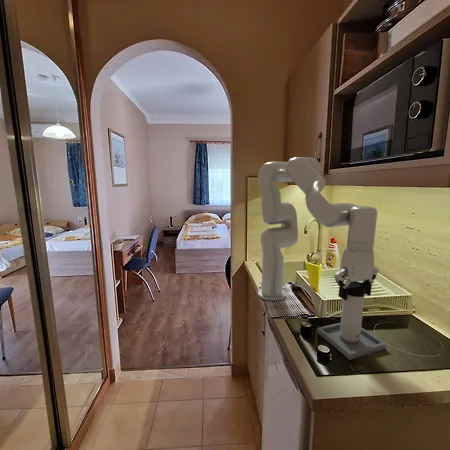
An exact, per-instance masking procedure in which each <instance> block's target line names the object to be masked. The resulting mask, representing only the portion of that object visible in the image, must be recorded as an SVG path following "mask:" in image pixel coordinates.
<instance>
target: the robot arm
mask: <svg viewBox="0 0 450 450" xmlns="http://www.w3.org/2000/svg"><path fill="white" fill-rule="evenodd" d="M321 172H322V165H321V163H320V161H319V160H318V159H317V158H315V157H309V156H307V157H306V156H305V157H302V156H297V157H296V156H295V157H292V158H290V159H289V160H288V161H269V162H265V163H263V164H262V165H261V166H260V168H259V170H258V174H257V183H258V187H259V191H260V201H261V212H262V213H261V214H262V220H263V222H264V224H266V225H270V226H272V225H274V226H275V225H280V226H275V227H269V228H266V229H265V230H264V231H262V233H261V235H260V243H261V244H260V245H261V249H262V250H261V251H262V252H261V253H262V257H261V258H262V259H261V261H262V262H261V281H260V283H259V284H260V286H261V288H259V289H258V291H257V295H258V297H259V298H261V299H263V300H266V301H269V302H270V301H271V302H278V301H282V300H283V299H285V298H286V292H285V290H283V287H284V285H283V284H284V283H283V282H284V281H283V280H284V279H283V278H284V264H285V263H284V262H285V261H284V260H285V257H284V255H283V253H282V251H281V249H283V248H288V247H293V246H295V245H296V244H297V243H298V239H299V228H298V215H297V214H298V213H297V210H296V208H295V206H294V205H293V203H290V202H282V199H281V198H282V197H281V192H280V189H279V187H278V185H277V184H276V183H294V184H295V185H296V186H297V187H298V188H299V189H300V190H301V191H302V193H303V194H304V195H305V199H304V200H305V205H306V208H307V210H308V212H309V213H310V214H311V215H312V217H313V219H315V220H316V221H317V222H318V223H319V224H320V225H321V226H324V227H326V228H335V227H336V228H337V227H345V226H348V230H347V240H346V248H344V250H343V252H342V255H341V259H340V266H339V271H338V272H336V273H334V275H333V277H334V279H335V283H336V284H337V286H339V287H338V297H339V298H340V299H342V300H343V299H344V300H347V298H348V288H347V287H348V285H349V284H350V283H351V282H361V281H362V282H361V283H365V284H366V285H367V287H365V296H366V295H367V296H371V294H372V287H373V284H374V282H375V281H374V280H376V278H377V275H378V273H379V272H380V271H379V268H378V267H377V268H376V267H375V251H374V246H375V235H376V228H377V221H378V220H377V219H378V210H377V208H376V207H373V206H368V205H357V204H354V203H350V202H340V203H338V202H337V203H330V202H329V201H328V200H327V199H326V198H325V197H324V196H323V194H322V193H321V192H323V190H324V188H325V187H326V184H327V183H326V179H325V178H324V177H323V176H322V174H321Z"/></svg>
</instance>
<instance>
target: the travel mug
mask: <svg viewBox="0 0 450 450" xmlns="http://www.w3.org/2000/svg"><path fill="white" fill-rule="evenodd" d="M365 287H367V285H366V284H365V283H362V282H361V281H357V282H351V283H350V284H349V285H348V287H347V288H348V298H347V300H344V299H342V306H341V315H340V316H341V318H340V323H341V326H340V338H341V339H342V340H343V341H344V342H347V343H350V344H357V343H359V341H360V334H361V327H362V324H363V323H362V322H363V314H364V304H365V296H366V294H365Z"/></svg>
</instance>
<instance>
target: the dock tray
mask: <svg viewBox="0 0 450 450" xmlns="http://www.w3.org/2000/svg"><path fill="white" fill-rule="evenodd" d="M340 326H341V322H338V323H333V324H329V325H324V326H319V327H317V328H316V329H317V330H316V333H317V335H318V336H320V337H321V338H322V339H323V340H325V341H326V342H327V343H328V344H329V345H330V346H332V347H333V348H334V349H335V350H336V351H337V352H339V353H340V354H341V355H343V356H344V357H345V358H346V359H347V360H349V361H351V360H354V359H359V358H361V357H365V356H369V355H372V354H375V353H378V352H382V351H385V350H387V343H386V342H384V341H383V340H381V339H379V338H378V337H377V336H375V335H374V334H372V333H371V332H369V331H368V330H366V329H365V328H363V327H362V326H361V334H360V341H359V343H357V344H350V343H347V342H344V341H343V340H342V339H341V338H340Z"/></svg>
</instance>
